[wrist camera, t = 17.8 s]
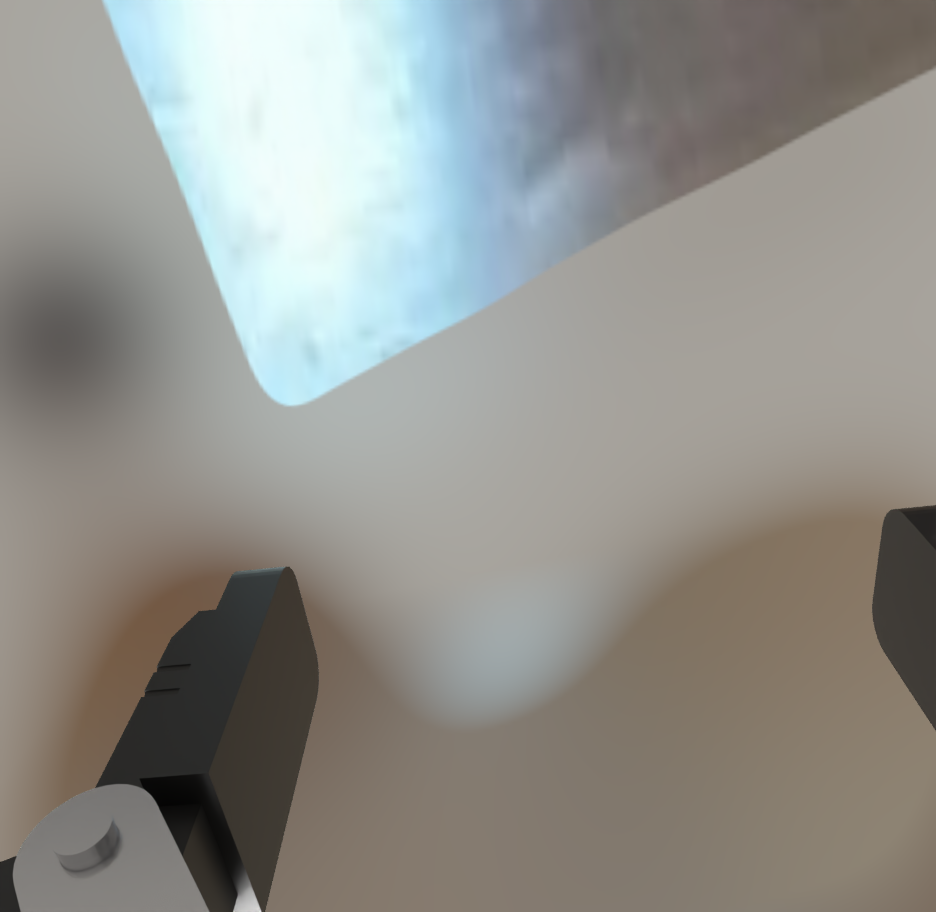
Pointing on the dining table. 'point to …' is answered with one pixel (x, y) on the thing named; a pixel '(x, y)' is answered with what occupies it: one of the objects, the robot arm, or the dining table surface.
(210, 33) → the dining table surface
